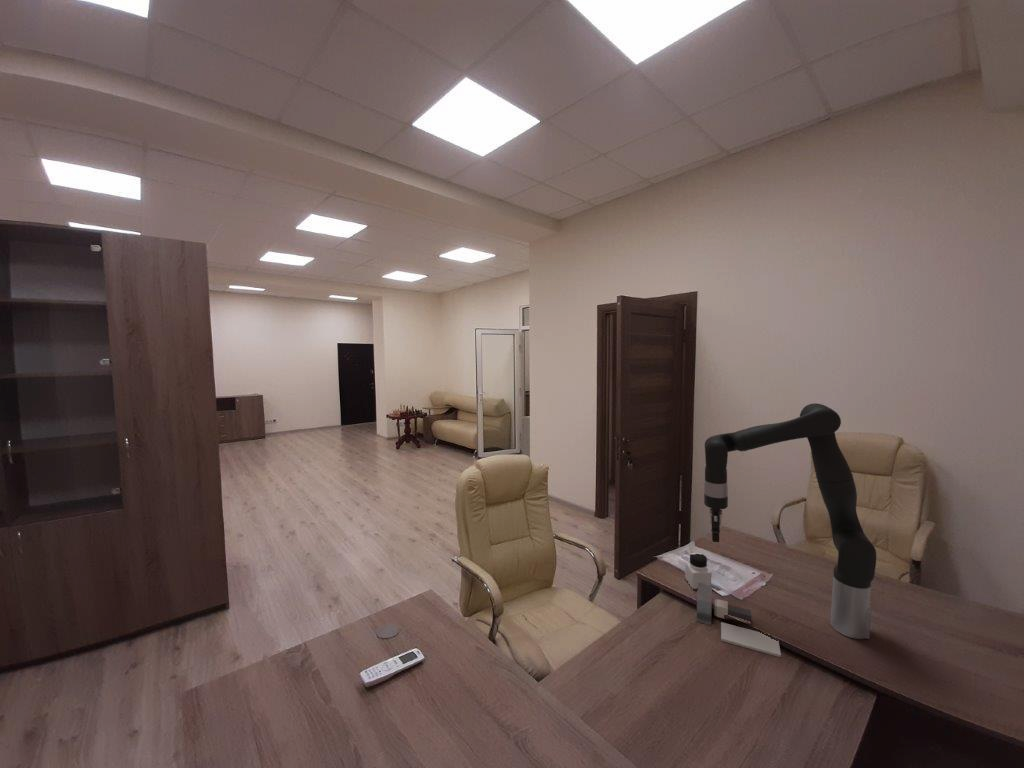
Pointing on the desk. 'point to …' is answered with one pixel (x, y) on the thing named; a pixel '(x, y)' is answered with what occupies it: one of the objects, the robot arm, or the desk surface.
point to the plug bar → (731, 610)
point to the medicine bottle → (697, 570)
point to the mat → (749, 639)
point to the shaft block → (704, 603)
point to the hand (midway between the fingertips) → (715, 536)
